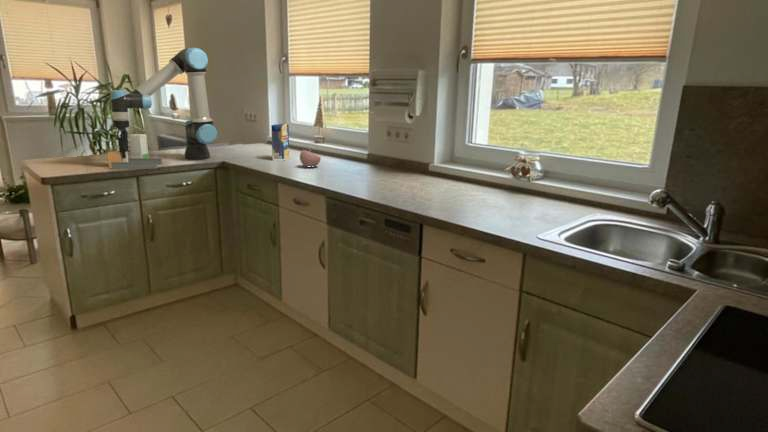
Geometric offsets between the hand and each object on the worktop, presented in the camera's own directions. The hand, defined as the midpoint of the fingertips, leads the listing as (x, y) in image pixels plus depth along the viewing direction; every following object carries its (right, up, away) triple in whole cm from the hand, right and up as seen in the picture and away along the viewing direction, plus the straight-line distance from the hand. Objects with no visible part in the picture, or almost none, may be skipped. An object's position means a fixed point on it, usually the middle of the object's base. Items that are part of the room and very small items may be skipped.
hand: (125, 163), depth 263 cm
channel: (+6, -1, +2) cm, 6 cm away
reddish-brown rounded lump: (+99, 0, +18) cm, 100 cm away
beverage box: (+76, +7, +42) cm, 87 cm away
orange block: (-4, -2, -1) cm, 5 cm away
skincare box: (-1, +3, +19) cm, 19 cm away
